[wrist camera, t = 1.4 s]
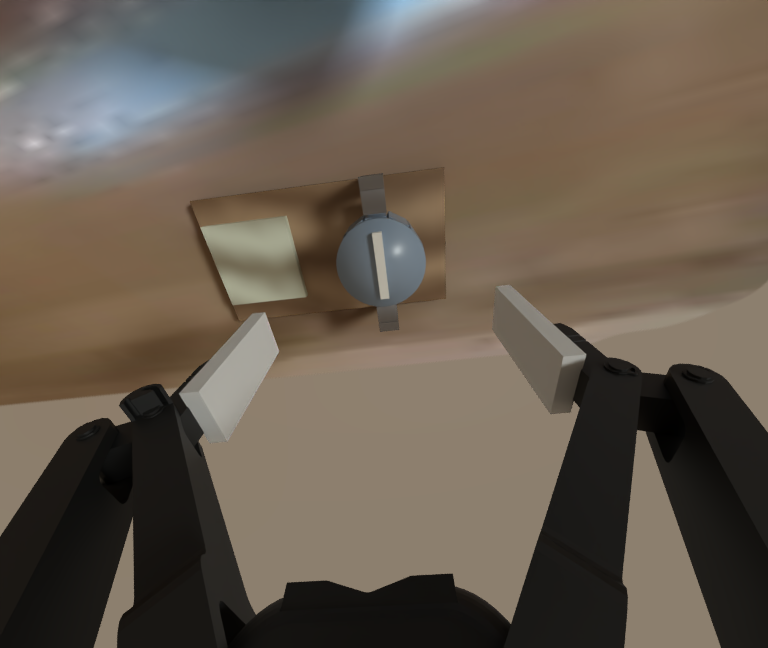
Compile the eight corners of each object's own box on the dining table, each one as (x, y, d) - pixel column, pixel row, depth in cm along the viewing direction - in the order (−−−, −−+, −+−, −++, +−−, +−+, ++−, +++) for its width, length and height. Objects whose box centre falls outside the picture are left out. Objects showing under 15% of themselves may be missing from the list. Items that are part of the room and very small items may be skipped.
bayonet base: (195, 198, 30) (144, 205, 23) (441, 165, 28) (458, 163, 22) (243, 317, 37) (214, 348, 30) (443, 296, 35) (457, 323, 29)
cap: (333, 201, 27) (322, 208, 22) (416, 190, 27) (423, 195, 22) (352, 302, 32) (347, 325, 27) (422, 294, 32) (429, 317, 27)
